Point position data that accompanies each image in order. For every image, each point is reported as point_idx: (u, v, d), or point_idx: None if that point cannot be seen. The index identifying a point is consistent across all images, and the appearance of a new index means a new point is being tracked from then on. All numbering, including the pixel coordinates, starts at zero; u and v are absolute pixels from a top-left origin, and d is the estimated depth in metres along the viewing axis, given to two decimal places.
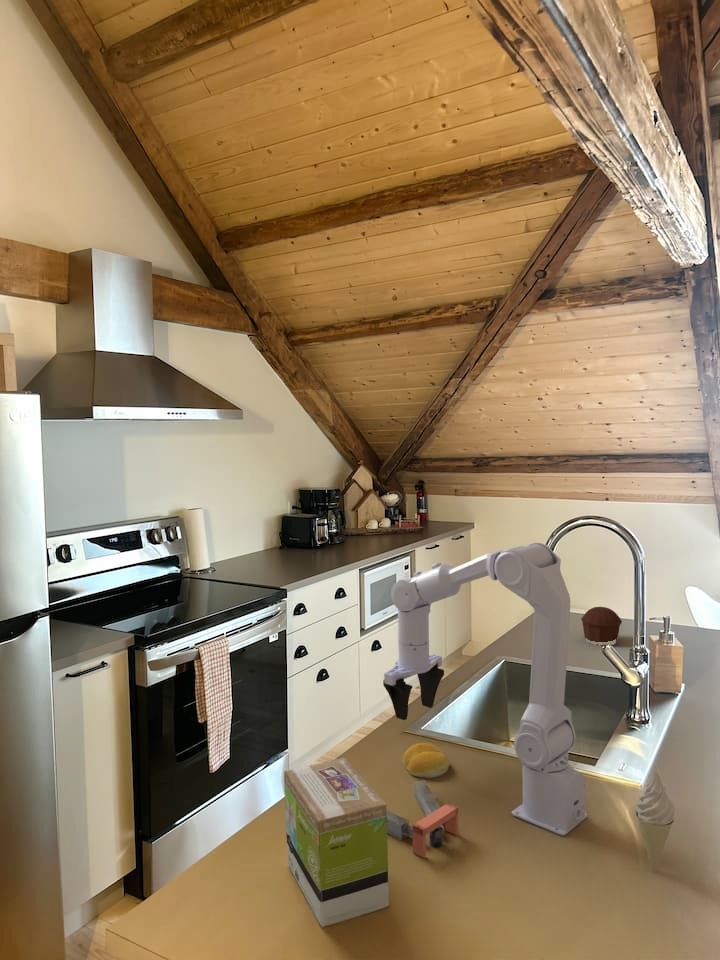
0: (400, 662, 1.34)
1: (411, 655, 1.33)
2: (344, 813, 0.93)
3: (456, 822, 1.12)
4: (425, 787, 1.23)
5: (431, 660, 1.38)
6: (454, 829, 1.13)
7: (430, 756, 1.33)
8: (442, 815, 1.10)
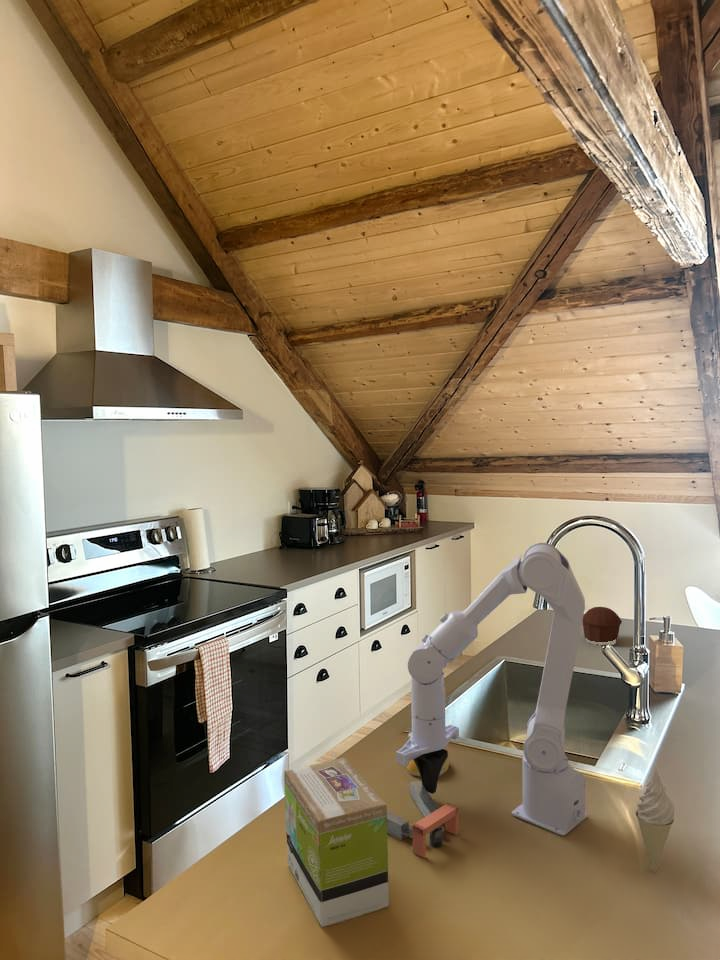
0: (413, 737, 1.22)
1: (426, 730, 1.20)
2: (344, 813, 0.93)
3: (456, 822, 1.12)
4: (421, 787, 1.23)
5: (447, 733, 1.26)
6: (454, 829, 1.13)
7: None
8: (442, 815, 1.10)
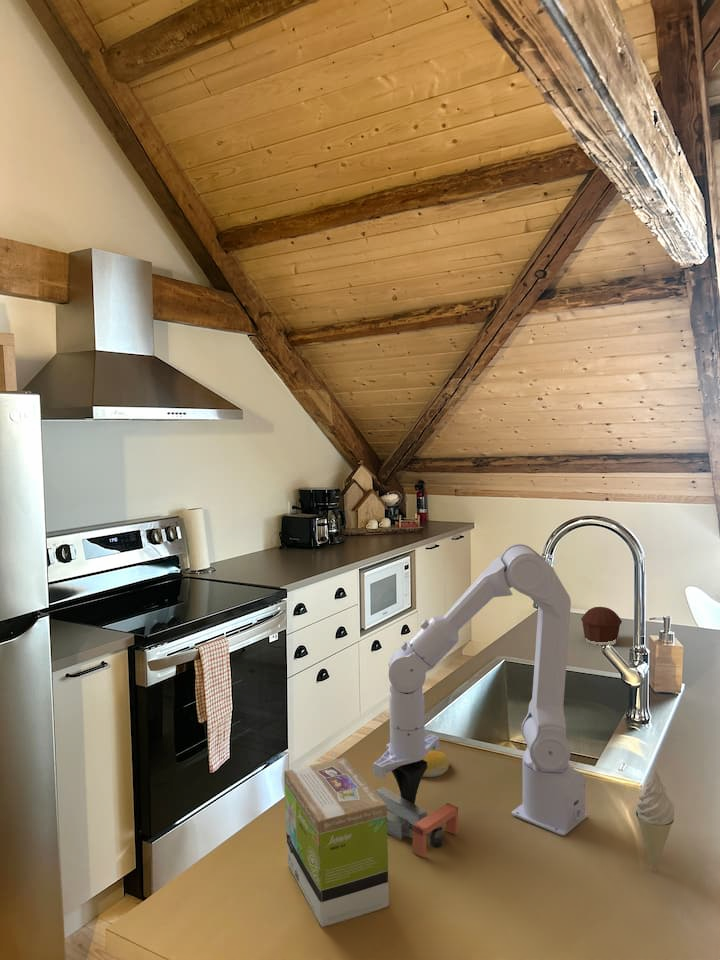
0: (392, 748, 1.18)
1: (404, 741, 1.16)
2: (344, 813, 0.93)
3: (456, 822, 1.12)
4: (390, 793, 1.21)
5: (427, 743, 1.22)
6: (454, 829, 1.13)
7: (430, 755, 1.33)
8: (442, 815, 1.10)
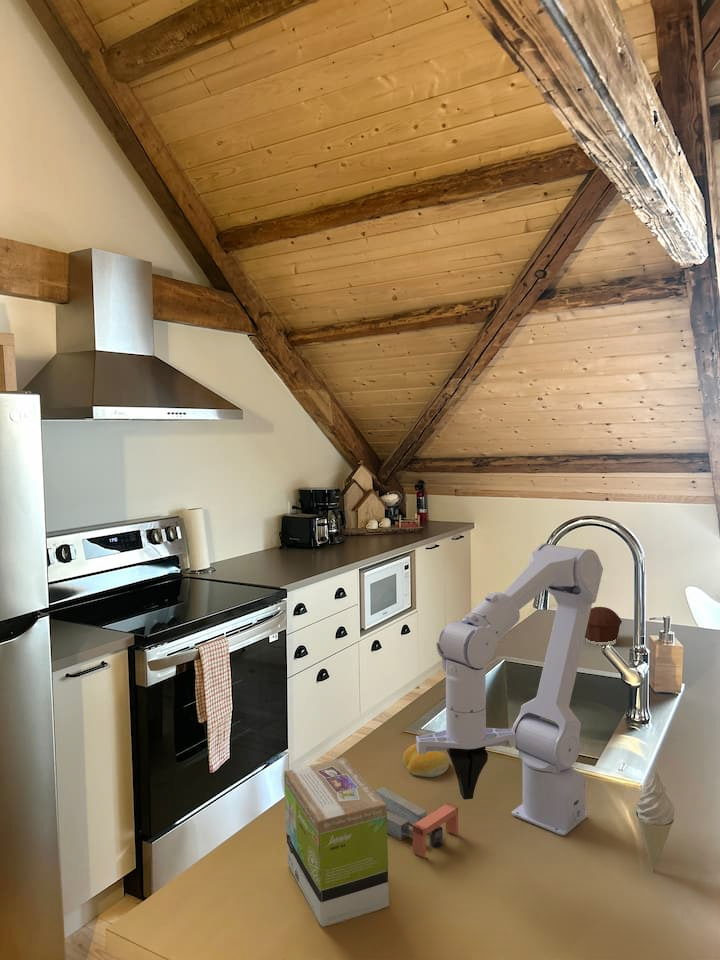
0: None
1: (452, 722, 1.03)
2: (344, 813, 0.93)
3: (456, 822, 1.12)
4: (390, 793, 1.21)
5: (496, 735, 1.05)
6: (454, 829, 1.13)
7: (430, 755, 1.33)
8: (442, 815, 1.10)
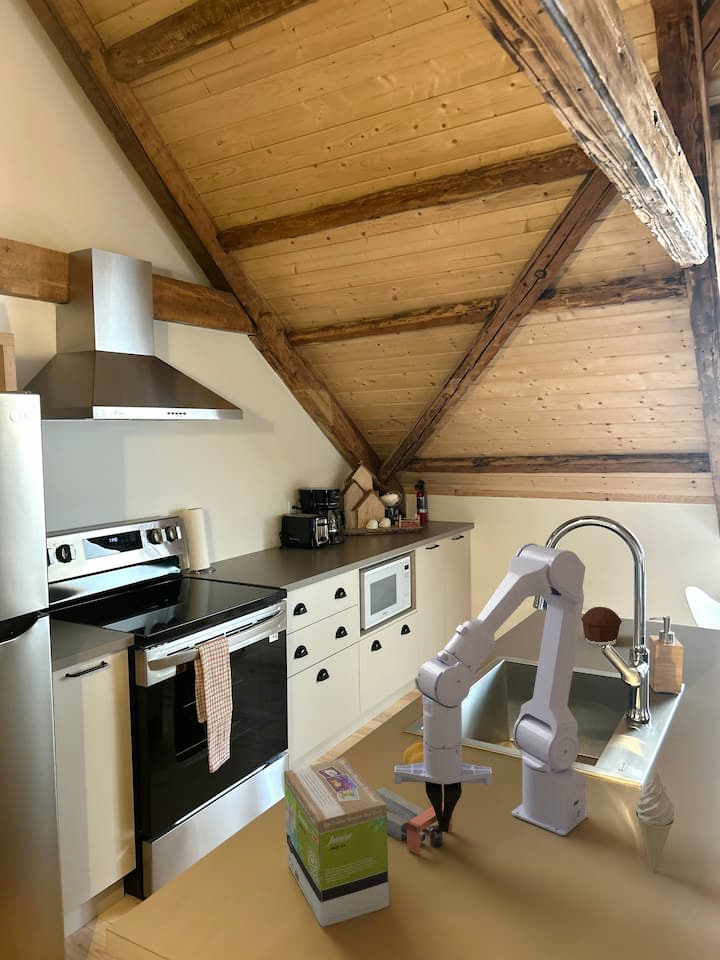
0: None
1: (426, 756, 1.07)
2: (344, 813, 0.93)
3: (450, 820, 1.13)
4: (390, 793, 1.21)
5: (473, 773, 1.08)
6: None
7: None
8: None
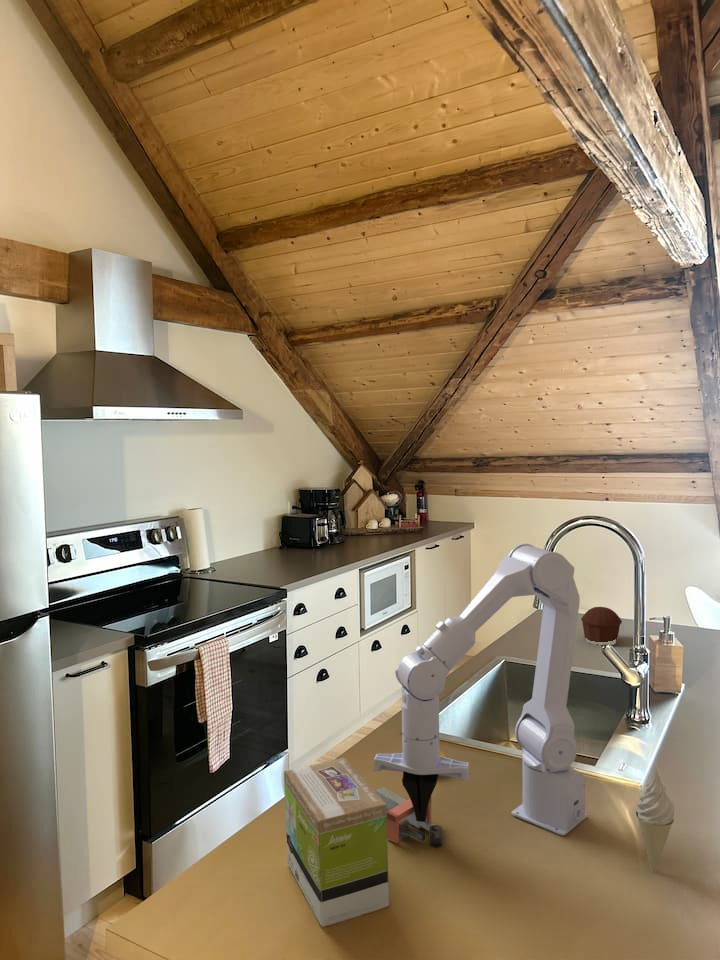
0: None
1: (403, 746, 1.10)
2: (344, 813, 0.93)
3: (429, 810, 1.16)
4: (390, 793, 1.21)
5: (449, 766, 1.10)
6: (427, 817, 1.16)
7: None
8: None
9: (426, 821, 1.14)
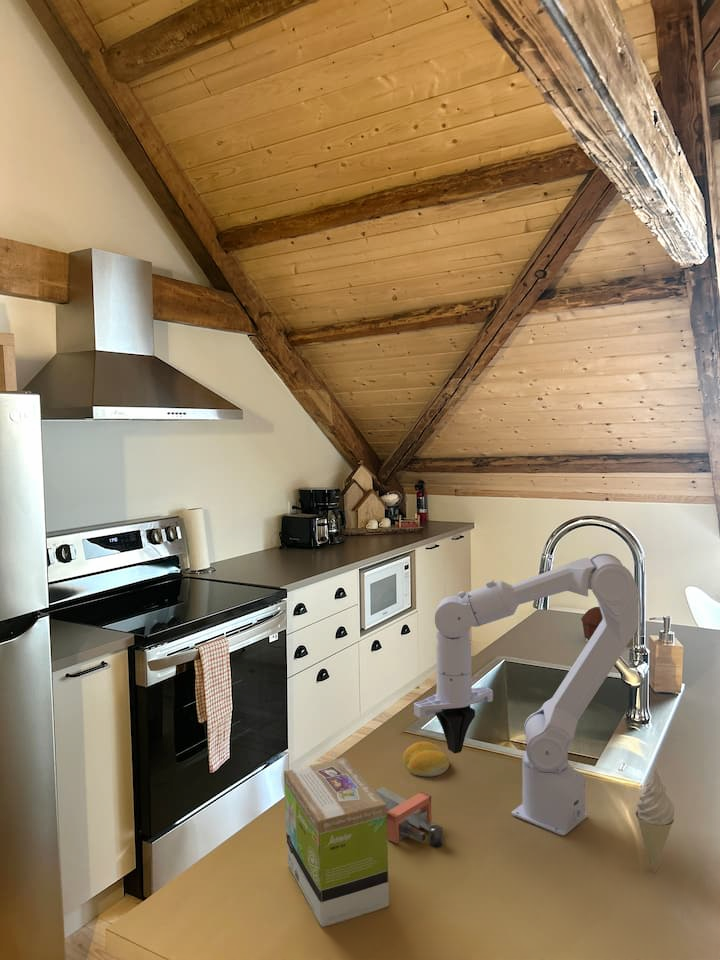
0: (437, 692, 1.19)
1: (447, 686, 1.17)
2: (344, 813, 0.93)
3: (429, 810, 1.16)
4: (390, 793, 1.21)
5: (478, 693, 1.21)
6: (427, 817, 1.16)
7: (430, 755, 1.33)
8: (416, 803, 1.14)
9: (426, 821, 1.14)
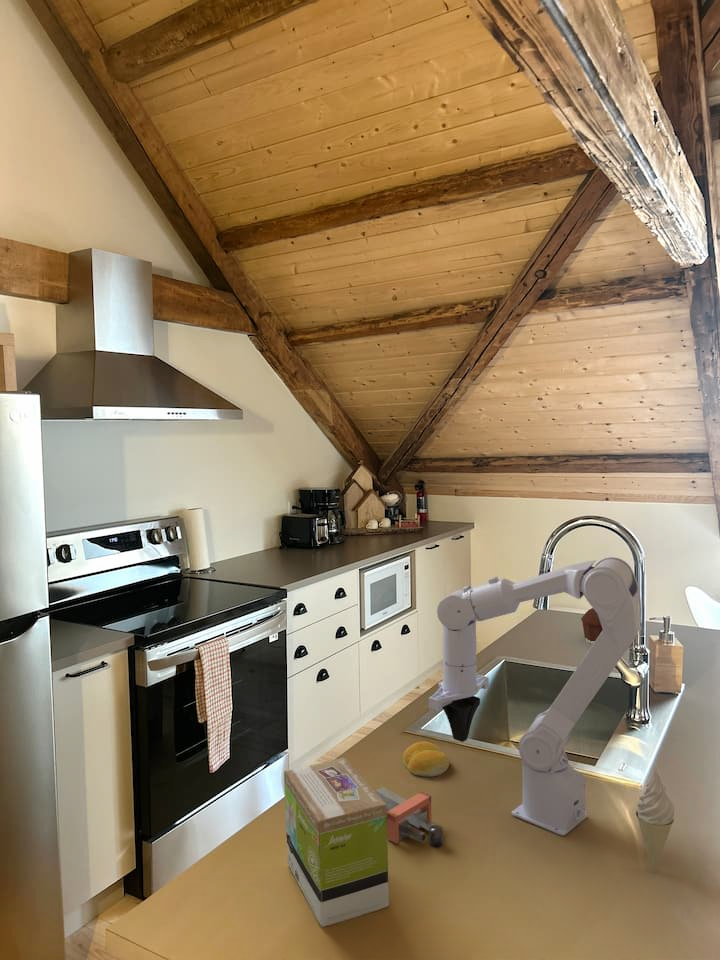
0: (445, 685, 1.22)
1: (458, 677, 1.21)
2: (344, 813, 0.93)
3: (429, 810, 1.16)
4: (390, 793, 1.21)
5: (477, 682, 1.26)
6: (427, 817, 1.16)
7: (430, 755, 1.33)
8: (416, 803, 1.14)
9: (426, 821, 1.14)
